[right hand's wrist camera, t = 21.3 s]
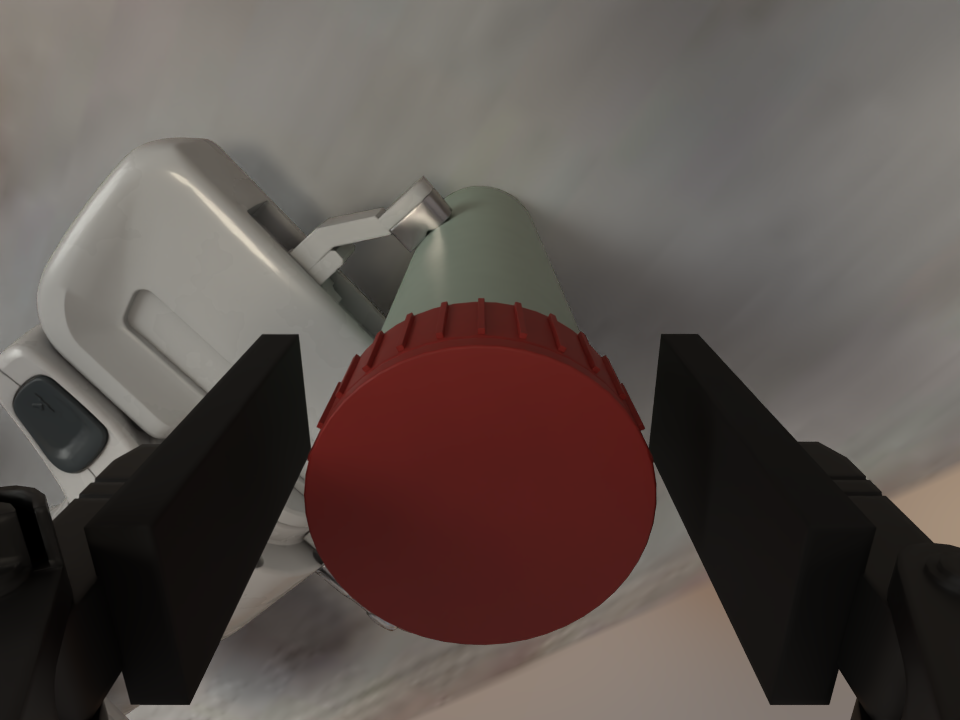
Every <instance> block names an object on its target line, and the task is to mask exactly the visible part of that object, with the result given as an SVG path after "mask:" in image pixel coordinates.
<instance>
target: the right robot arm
mask: <svg viewBox="0 0 960 720" xmlns="http://www.w3.org/2000/svg"><path fill="white" fill-rule="evenodd" d="M310 450H311V442H310V433H309V424H308V414H307V405H306V396H305V387H304V377H303V368H302V359H301V350H300V340H299V334H262V335H261V336H260V337H259V338H258V339H257V340H256V341H255V342H254V343H253V344H252V346H251V347H250V348H249V349H248V350H247V351H246V352H245V353H244V354H243V355H242V356H241V357H240V359H239V360H238V361H237V362H236V363H235V364H234V365H233V366H232V367H231V368H230V369H229V370H228V372H227V373H226V374H225V375H224V376H223V377H222V378H221V379H220V380H219V381H218V382H217V383H216V385H215V386H214V387H213V388H212V389H211V390H210V391H209V392H208V393H207V394H206V395H205V396H204V398H203V399H202V400H201V401H200V402H199V403H198V404H197V405H196V406H195V407H194V408H193V409H192V411H191V412H190V413H189V414H188V415H187V416H186V417H185V418H184V419H183V420H182V421H181V422H180V424H179V425H178V426H177V427H176V428H175V429H174V430H173V431H172V432H171V433H170V434H169V435H168V437H167V438H166V439H165V440H164V441H163V442H162V443H161V444H141V445H140V446H138V447H136V448H134V449H132V450H131V451H129V452H127V453H125V454H124V455H122V456H120V457H118V458H116V459H115V460H113V461H112V462H111V463H110V464H109V465H108V466H107V467H106V468H105V469H104V470H103V471H102V472H101V473H100V474H99V475H98V476H97V477H96V478H95V482H91V483H90V484H89V485H88V486H87V487H86V488H85V489H84V490H83V491H82V492H81V493H80V494H79V498H75V499H74V500H73V501H72V502H71V503H70V504H69V505H68V506H67V507H66V508H65V509H64V510H63V511H62V512H61V513H60V514H59V515H58V516H56V517H55V518H54V519H53V520H52V517H51V514H50V510H49V507H48V503H47V500H46V496H45V495H44V494H43V493H41V492H40V491H38V490H37V489H35V488H31V487H23V486H6V487H0V720H109V719H108V713H107V709H106V706H105V702H104V699H105V697H106V696H107V694H108V693H109V691H110V689H111V688H112V686H113V685H114V683H115V681H116V680H117V678H118V677H119V675H120V673H121V672H122V674H123V678H124V681H125V685H126V689H127V693H128V696H129V700H130V704H131V705H190V703H191V701H192V699H193V697H194V695H195V693H196V691H197V689H198V687H199V684H200V682H201V680H202V678H203V676H204V674H205V672H206V670H207V668H208V666H209V664H210V661H211V659H212V657H213V655H214V653H215V651H216V649H217V647H218V645H219V643H220V641H221V638H222V636H223V634H224V632H225V630H226V628H227V626H228V624H229V622H230V620H231V618H232V615H233V613H234V611H235V609H236V607H237V605H238V603H239V601H240V599H241V597H242V595H243V592H244V590H245V588H246V586H247V584H248V582H249V580H250V578H251V576H252V574H253V572H254V569H255V567H256V565H257V563H258V561H259V559H260V557H261V555H262V553H263V551H264V549H265V546H266V544H267V542H268V540H269V538H270V536H271V534H272V532H273V530H274V528H275V526H276V523H277V521H278V519H279V517H280V515H281V513H282V511H283V509H284V507H285V505H286V503H287V500H288V498H289V496H290V494H291V492H292V490H293V488H294V486H295V484H296V482H297V480H298V477H299V475H300V473H301V471H302V469H303V467H304V465H305V463H306V461H307V458H308V454H309V452H310ZM649 450H650V452H651V454H652V456H653V461H654V463H655V465H656V467H657V469H658V471H659V473H660V475H661V477H662V480H663V482H664V484H665V486H666V488H667V490H668V492H669V494H670V496H671V498H672V500H673V503H674V505H675V507H676V509H677V511H678V513H679V515H680V517H681V519H682V521H683V523H684V526H685V528H686V530H687V532H688V534H689V536H690V538H691V540H692V542H693V544H694V546H695V549H696V551H697V553H698V555H699V557H700V559H701V561H702V563H703V565H704V567H705V569H706V572H707V574H708V576H709V578H710V580H711V582H712V584H713V586H714V588H715V590H716V592H717V595H718V597H719V599H720V601H721V603H722V605H723V607H724V609H725V611H726V613H727V615H728V618H729V619H730V622H731V624H732V626H733V628H734V630H735V632H736V634H737V636H738V638H739V640H740V643H741V645H742V647H743V649H744V651H745V653H746V655H747V657H748V659H749V661H750V663H751V666H752V668H753V670H754V672H755V674H756V676H757V678H758V680H759V682H760V684H761V686H762V689H763V691H764V693H765V695H766V697H767V699H768V701H769V703H770V705H829V704H830V700H831V696H832V693H833V689H834V685H835V681H836V678H837V674H838V670H840V671H841V673H842V675H843V676H844V678H845V679H846V681H847V683H848V684H849V686H850V687H851V689H852V691H853V692H854V694H855V695H856V697H857V699H856V702H855V706H854V710H853V713H852V716H851V720H960V548H959V547H956V546H952V545H947V544H937V543H933V542H932V541H931V540H930V539H929V538H928V537H927V536H926V535H925V534H924V533H923V532H922V531H921V530H920V529H919V528H918V527H917V526H916V525H915V524H914V523H913V522H912V521H911V520H910V519H909V518H908V517H907V516H906V515H905V514H904V513H903V512H902V511H901V510H900V509H899V508H898V507H897V506H896V505H895V504H894V503H893V502H892V501H891V500H889V499H888V498H887V497H886V496H882V492H881V491H880V490H879V489H878V488H877V487H876V486H875V485H874V484H873V483H872V482H871V481H870V480H866V476H865V475H864V474H863V473H862V472H861V471H860V470H859V469H858V468H857V467H856V466H855V465H854V464H853V463H852V462H851V461H850V460H849V459H848V458H847V457H845V456H843V455H841V454H839V453H837V452H836V451H834V450H832V449H830V448H828V447H827V446H825V445H823V444H821V443H819V442H797V441H796V440H795V439H794V438H793V437H792V435H791V434H790V433H789V432H788V431H787V430H786V429H785V428H784V427H783V426H782V425H781V424H780V422H779V421H778V420H777V419H776V418H775V417H774V416H773V415H772V414H771V413H770V412H769V411H768V409H767V408H766V407H765V406H764V405H763V404H762V403H761V402H760V401H759V400H758V399H757V398H756V396H755V395H754V394H753V393H752V392H751V391H750V390H749V389H748V388H747V387H746V386H745V385H744V383H743V382H742V381H741V380H740V379H739V378H738V377H737V376H736V375H735V374H734V373H733V372H732V370H731V369H730V368H729V367H728V366H727V365H726V364H725V363H724V362H723V361H722V360H721V359H720V357H719V356H718V355H717V354H716V353H715V352H714V351H713V350H712V349H711V348H710V347H709V346H708V344H707V343H706V342H705V341H704V340H703V339H702V338H701V337H700V336H699V335H698V334H661V340H660V350H659V359H658V368H657V377H656V387H655V396H654V405H653V414H652V424H651V433H650V442H649Z"/></svg>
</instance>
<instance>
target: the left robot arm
mask: <svg viewBox="0 0 960 720" xmlns="http://www.w3.org/2000/svg"><path fill="white" fill-rule="evenodd" d="M452 210H453V209H452V208H451V207H450V206H449V205H448V204H447V202H446V201H445V200H444V199H443V198H442V196H441V195H440V194H439V193H438V192H437V190H436V189H435V188H433V186H432V184H431V183H430V182H429V181H428V180H427V179H426V178H425V177H424V176H423V177H422V178H420V179H419V180H418V181H417V182H416V183H414V184H413V185H412V186H411V187H410V188H409V189H408V190H407V191H406V192H405V193H404V194H403V195H402V196H400V197H399V198H398V199H397V200H396V201H395V202H394V203H393V204H392V205H391V206H390V207H389V208H387V209H386V210H385V209H384V208H383V207H382V208H377V209H372V210H367V211H362V212H357V213H352V214H347V215H342V216H337V217H332V218H328V219H327V220H326V221H325V222H323V223H322V224H321V225H320V226H319V227H317V228H316V229H315V230H314V231H313V232H312V233H311V234H310V235H308V236H306V235H305V234H304V233H303V232H302V231H301V230H300V229H299V228H298V227H297V226H296V225H295V224H294V223H293V222H292V221H291V220H290V219H289V218H288V217H287V216H286V215H285V214H284V213H283V212H282V210H281V209H280V208H279V207H278V206H277V205H276V204H275V203H274V202H273V201H272V200H271V199H270V198H269V197H268V196H267V195H266V194H265V193H264V192H263V191H262V190H261V189H260V188H259V187H258V186H257V185H256V184H255V183H254V182H253V181H252V180H251V179H250V178H249V177H248V176H247V174H246V173H245V172H244V171H243V170H242V169H241V168H240V167H239V166H238V165H237V164H236V163H235V162H234V161H233V160H232V159H231V158H230V157H229V156H228V155H227V154H226V153H225V152H224V151H223V150H222V149H221V148H220V147H219V146H218V145H217V144H216V143H214V142H213V141H211V140H208V139H203V138H166V139H160V140H155V141H151V142H148V143H145V144H143V145H141V146H139V147H137V148H136V149H134V150H133V151H131V152H130V153H129V154H128V155H126V156H125V158H124V159H123V160H122V161H121V162H120V163H119V164H118V165H117V166H116V167H115V168H114V169H113V171H112V172H111V173H110V174H109V175H108V177H107V178H106V179H105V180H104V181H103V182H102V184H101V185H100V186H99V187H98V189H97V190H96V191H95V193H94V194H93V195H92V196H91V198H90V199H89V200H88V202H87V203H86V204H85V206H84V207H83V209H82V210H81V211H80V213H79V214H78V215H77V217H76V218H75V220H74V221H73V223H72V224H71V226H70V227H69V229H68V230H67V231H66V233H65V235H64V236H63V238H62V239H61V241H60V243H59V244H58V246H57V248H56V249H55V251H54V252H53V254H52V256H51V257H50V259H49V261H48V263H47V265H46V267H45V269H44V271H43V273H42V276H41V279H40V282H39V286H38V291H37V313H38V317H39V321H40V324H39V325H37V326H36V327H34V328H33V329H31V330H30V331H28V332H27V333H25V334H24V335H23V336H21V337H20V338H19V339H18V340H16V341H15V342H14V343H13V344H11V345H10V346H9V347H8V348H6V349H5V350H4V351H3V352H2V353H1V354H0V403H1V404H2V406H3V407H4V408H5V410H6V411H7V412H8V414H9V415H10V416H11V417H12V419H13V420H14V421H15V423H16V424H17V425H18V427H19V428H20V429H21V430H22V432H23V433H24V434H25V436H26V437H27V438H28V440H29V441H30V443H31V444H32V445H33V447H34V448H35V450H36V451H37V452H38V454H39V455H40V457H41V458H42V459H43V461H44V462H45V464H46V465H47V467H48V468H49V470H50V471H51V473H52V474H53V476H54V478H55V479H56V481H57V483H58V484H59V486H60V487H61V489H62V491H63V492H64V494H65V496H66V498H65V499H64V501H63V502H62V503H61V504H59V505H57V506H55V507H52V508H50V509H49V510H50V514H51V517H52V520H53V519H54V518H55V517H56V516H58V515H59V514H60V513H61V512H62V511H63V510H64V509H65V508H66V507H67V506H68V505H69V504H70V503H71V502H72V501H73V500H74V499H75V498H79V494H80V493H81V492H82V491H83V490H84V489H85V488H86V487H87V486H88V485H89V484H90V483H91V482H95V478H96V477H97V476H98V475H99V474H100V473H101V472H102V471H103V470H104V469H105V468H106V467H107V466H108V465H109V464H110V463H111V462H112V461H113V460H115V459H116V458H118V457H120V456H122V455H124V454H125V453H127V452H129V451H131V450H132V449H134V448H136V447H138V446H140V445H141V444H161V443H162V442H163V441H164V440H165V439H166V438H167V437H168V435H169V434H170V433H171V432H172V431H173V430H174V429H175V428H176V427H177V426H178V425H179V424H180V422H181V421H182V420H183V419H184V418H185V417H186V416H187V415H188V414H189V413H190V412H191V411H192V409H193V408H194V407H195V406H196V405H197V404H198V403H199V402H200V401H201V400H202V399H203V398H204V396H205V395H206V394H207V393H208V392H209V391H210V390H211V389H212V388H213V387H214V386H215V385H216V383H217V382H218V381H219V380H220V379H221V378H222V377H223V376H224V375H225V374H226V373H227V372H228V370H229V369H230V368H231V367H232V366H233V365H234V364H235V363H236V362H237V361H238V360H239V359H240V357H241V356H242V355H243V354H244V353H245V352H246V351H247V350H248V349H249V348H250V347H251V346H252V344H253V343H254V342H255V341H256V340H257V339H258V338H259V337H260V336H261V335H262V334H299V340H300V350H301V359H302V368H303V377H304V387H305V396H306V405H307V414H308V424H309V433H310V442H311V448H312V446H313V444H314V442H315V440H316V438H317V436H318V434H319V431H320V429H319V428H317V424H318V422H319V420H320V418H321V416H322V414H323V412H324V410H325V408H326V406H327V404H328V402H329V400H330V398H331V396H332V394H333V392H334V390H335V388H336V386H337V384H338V382H342V380H343V378H344V376H345V374H346V371H347V369H348V367H349V365H350V363H351V361H352V359H353V357H354V356H355V355H356V354H357V355H359V356H361V355H362V354H363V352H364V351H365V350H366V349H367V348H368V347H369V346H370V345H371V344H372V343H373V341H374V339H375V337H376V334H377V333H378V332H379V331H381V330H382V327H383V325H384V323H385V320H386V318H385V317H384V315H383V314H382V313H381V312H380V311H379V310H378V309H377V308H376V307H375V306H374V305H373V304H372V303H371V302H370V301H369V300H368V299H367V298H366V297H365V296H364V295H363V294H362V293H361V292H360V291H359V290H358V289H357V288H356V287H355V286H354V285H353V284H352V283H351V282H350V280H349V279H348V278H347V277H346V276H345V275H344V274H343V273H342V272H341V271H340V270H339V269H338V268H340V267H341V266H342V265H343V264H344V262H345V261H346V260H347V259H348V258H349V256H350V255H351V254H352V253H353V251H354V250H355V246H354V245H353V244H352V243H356V242H360V241H365V240H370V239H374V238H379V237H384V236H388V235H392V234H393V235H394V236H395V237H396V238H397V239H398V240H399V241H400V242H401V243H402V244H403V245H404V246H405V247H406V248H407V249H408V250H409V251H410V252H411V251H412V250H414V249H415V248H416V247H417V246H418V245H419V244H420V243H421V242H422V241H423V240H424V239H425V238H426V236H427V233H428V231H430V230H435V229H436V228H438V227H439V226H441V225H442V224H443V223H444V222H445V221H446V220H447V219H448V218H449V217H450V215H451V214H452V212H451V211H452ZM308 462H309V461H306V463H305V465H304V467H303V469H302V471H301V473H300V475H299V477H298V480H297V482H296V484H295V486H294V488H293V490H292V492H291V494H290V496H289V498H288V500H287V503H286V505H285V507H284V509H283V511H282V513H281V515H280V517H279V519H278V521H277V523H276V526H275V528H274V530H273V532H272V534H271V536H270V538H269V540H268V542H267V544H266V546H265V549H264V551H263V553H262V555H261V557H260V559H259V561H258V563H257V565H256V567H255V569H254V572H253V574H252V576H251V578H250V580H249V582H248V584H247V586H246V588H245V590H244V592H243V595H242V597H241V599H240V601H239V603H238V605H237V607H236V609H235V611H234V613H233V615H232V618H231V620H230V622H229V624H228V626H227V628H226V630H225V632H224V634H223V636H222V638H221V641H222V640H223V639H225V638H227V637H229V636H230V635H232V634H234V633H235V632H237V631H238V630H239V629H241V628H242V627H243V626H245V625H246V624H247V623H249V622H250V621H251V620H253V619H254V618H255V617H256V616H258V615H259V614H260V613H262V612H263V611H264V610H266V609H267V608H268V607H270V606H271V605H272V604H273V603H275V602H276V601H277V600H279V599H280V598H281V597H282V596H284V595H285V594H286V593H288V592H289V591H290V590H292V589H293V588H294V587H295V586H297V585H298V584H299V583H301V582H302V581H303V580H305V579H306V578H307V577H309V576H310V575H311V574H312V573H314V572H316V573H317V574H318V575H319V576H321V577H322V578H323V579H324V580H325V581H327V582H328V583H329V584H330V585H331V586H333V587H334V588H335V589H336V590H337V591H339V592H340V593H341V594H343V595H344V596H346V597H347V598H349V599H351V600H352V601H354V602H356V603H357V604H358V605H359V606H361V608H363V609H364V610H365V611H366V613H367V615H368V616H369V617H370V618H371V619H372V620H373V621H374V622H375V623H377V624H378V625H380V626H381V627H383V628H385V629H387V630H389V631H393V630H395V629H397V628H398V627H396V626H394V625H392V624H390V623H388V622H386V621H384V620H382V619H381V618H379V617H378V616H376V615H374V614H373V613H371V612H369V611H368V610H367V609H365V608H364V607H363V606H362V605H360V604H359V603H358V602H357V601H355V600H354V599H353V598H352V597H351V596H350V595H349V594H348V593H347V592H346V591H345V590H344V589H343V588H342V587H341V586H340V585H339V584H338V583H337V581H336V580H335V579H334V577H333V576H332V575H331V573H330V572H329V571H328V570H327V568H326V566H325V565H324V563H323V561H322V559H321V558H320V556H319V554H318V552H317V550H316V547H315V545H314V542H313V540H312V537H311V535H310V531H309V527H308V523H307V518H306V514H305V502H304V487H305V474H306V470H307V466H308ZM399 629H401V628H399ZM401 630H403V629H401ZM403 631H405V630H403ZM406 632H408V631H406ZM410 633H411V632H410ZM104 702H105V706H106V709H107V713H108V719H109V720H129V719H128V718H127V717H126V716H125V715H127V714H128V713H129V712H131V711H132V710H134V709H135V708H137V707H138V706H140V705H131V704H130V700H129V696H128V693H127V689H126V685H125V681H124V678H123V674H122V672H121V673H120V675H119V677H118V678H117V680H116V681H115V683H114V685H113V686H112V688H111V689H110V691H109V693H108V694H107V696H106V697H105V699H104Z"/></svg>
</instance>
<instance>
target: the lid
mask: <svg viewBox="0 0 960 720" xmlns="http://www.w3.org/2000/svg"><path fill="white" fill-rule="evenodd" d="M317 428H319V429H320V431H319V434H318V436H317V438H316V440H315V442H314V444H313V446H312V448H311V450H310V452H309V454H308V458H307V461H309V462H308V466H307V470H306V474H305V487H304V502H305V514H306V518H307V523H308V527H309V531H310V535H311V537H312V540H313V542H314V545H315V547H316V550H317V552H318V554H319V556H320V558H321V559H322V561H323V563H324V565H325V566H326V568H327V570H328V571H329V572H330V573H331V575H332V576H333V577H334V579H335V580H336V581H337V583H338V584H339V585H340V586H341V587H342V588H343V589H344V590H345V591H346V592H347V593H348V594H349V595H350V596H351V597H352V598H353V599H354V600H355V601H357V602H358V603H359V604H360V605H362V606H363V607H364V608H365V609H367V610H368V611H369V612H371V613H373V614H374V615H376V616H378V617H379V618H381V619H382V620H384V621H386V622H388V623H390V624H392V625H394V626H396V627H398V628H401V629H403V630H405V631H408V632H411V633H414V634H417V635H419V636H422V637H426V638H430V639H435V640H439V641H443V642H450V643H458V644H473V645H490V644H503V643H510V642H516V641H522V640H527V639H531V638H534V637H538V636H541V635H544V634H548V633H550V632H552V631H555V630H557V629H560V628H562V627H565V626H567V625H569V624H571V623H572V622H574V621H576V620H578V619H580V618H582V617H584V616H585V615H586V614H588V613H589V612H591V611H592V610H594V609H595V608H596V607H598V606H599V605H601V604H602V603H603V602H604V601H605V600H606V599H607V598H608V597H610V596H611V595H612V594H613V593H614V592H615V591H616V590H617V589H618V588H619V587H620V585H621V584H622V583H623V582H624V581H625V580H626V579H627V577H628V576H629V575H630V573H631V572H632V570H633V569H634V567H635V566H636V564H637V563H638V561H639V559H640V557H641V555H642V553H643V551H644V549H645V547H646V545H647V542H648V539H649V536H650V533H651V529H652V526H653V522H654V516H655V510H656V479H655V472H654V466H653V462H654V461H653V456H652V454H651V452H650V450H649V448H648V446H647V444H646V442H645V440H644V437H643V435H642V433H641V430H644V429H645V427H644V425H643V423H642V421H641V419H640V417H639V415H638V413H637V411H636V409H635V407H634V405H633V403H632V401H631V399H630V397H629V395H628V393H627V391H626V389H625V387H624V385H623V383H621V384H620V382H619V380H618V377H617V375H616V373H615V371H614V369H613V367H612V365H611V363H610V361H609V359H608V358H607V357H606V355H605V356H603V357H601V356H600V355H599V354H598V353H597V352H596V351H595V350H594V349H593V348H592V346H591V345H590V344H589V342H588V340H587V338H586V336H585V334H584V333H582V332H580V333H579V334H577V333H575V332H574V331H573V330H571V329H570V328H568V327H567V326H565V325H563V324H562V323H560V322H558V321H557V318H556V316H555V315H553V314H551V313H550V314H549V316H546V315H544V314H541V313H539V312H537V311H533V310H530V309H526V308H523V307H522V304H521V303H519V302H515V304H514V305H509V304H503V303H497V302H485V299H484V298H478V302H467V303H456V304H451V305H448V302H447V301H446V302H442V303H441V307H437V308H433V309H430V310H428V311H425V312H422V313H419V314H417V315H413V313H412V312H411V313H409V314H407V315H406V318H405V320H404V321H402V322H401V323H399V324H397V325H395V326H394V327H392V328H391V329H390V330H388V331H387V332H385V333H383V332H382V330H381V331H379V332H378V333H377V334H376V337H375V339H374V341H373V343H372V344H371V345H370V346H369V347H368V348H367V349H366V350H365V351H364V352H363V354H362V355H361V356H359V355H357V354H356V355H355V356H354V357H353V359H352V361H351V363H350V365H349V367H348V369H347V371H346V374H345V376H344V378H343V380H342V382H338V384H337V386H336V388H335V390H334V392H333V394H332V396H331V398H330V400H329V402H328V404H327V406H326V408H325V410H324V412H323V414H322V416H321V418H320V420H319V422H318V424H317Z"/></svg>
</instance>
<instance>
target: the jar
mask: <svg viewBox="0 0 960 720" xmlns="http://www.w3.org/2000/svg"><path fill="white" fill-rule="evenodd" d="M444 200H445V201H446V202H447V204H448V205H449V206H450V207H451V208H452V209H453V210H452V211H451V212H452V214H451V215H450V217H449V218H448V219H447V220H446V221H445V222H444V223H443V224H442V225H441V226H439V227H438V228H436V229H435V230H430V231H428V233H427V236H426V238H425V239H424V240H423V241H422V242H421V243H420V244H419V245H418V246H417V247H416V250H415V252H414V254H413V257H412V259H411V261H410V264H409V266H408V269H407V271H406V273H405V276H404V278H403V280H402V283H401V285H400V287H399V290H398V292H397V294H396V297H395V299H394V301H393V304H392V306H391V309H390V311H389V313H388V316H387V318H386V320H385V323H384V325H383V327H382V332H383V333H385V332H387V331H388V330H390V329H391V328H392V327H394V326H395V325H397V324H399V323H401V322H402V321H404V320H405V318H406V315H407V314H409V313H411V312H412V313H413V315H417V314H419V313H422V312H425V311H428V310H430V309H433V308H437V307H441V303H442V302H446V301H447V302H448V305H451V304H456V303H467V302H478V298H484V299H485V302H497V303H503V304H509V305H514V304H515V302H519V303H521V304H522V307H523V308H526V309H530V310H533V311H537V312H539V313H541V314H544V315H546V316H549V314H550V313H551V314H553V315H555V316H556V318H557V321H558V322H560V323H562V324H563V325H565V326H567V327H568V328H570V329H571V330H573V331H574V332H575V333H577V334H579V333H580V331H579V329H578V327H577V324H576V322H575V320H574V317H573V315H572V313H571V310H570V308H569V306H568V303H567V301H566V299H565V296H564V294H563V292H562V289H561V287H560V285H559V282H558V280H557V278H556V275H555V273H554V271H553V268H552V266H551V264H550V261H549V259H548V257H547V254H546V252H545V250H544V247H543V245H542V242H541V240H540V238H539V235H538V233H537V231H536V228H535V226H534V224H533V221H532V219H531V217H530V215H529V214H528V212H527V210H526V209H525V208H524V206H523V205H522V204H521V203H520V202H519V201H518V200H517V199H515V198H514V197H513V196H511V195H510V194H508V193H506V192H504V191H502V190H499V189H496V188H492V187H486V186H474V187H467V188H464V189H461V190H458V191H456V192H454V193H452V194H451V195H449V196H447V197H446V198H445V199H444Z"/></svg>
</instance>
